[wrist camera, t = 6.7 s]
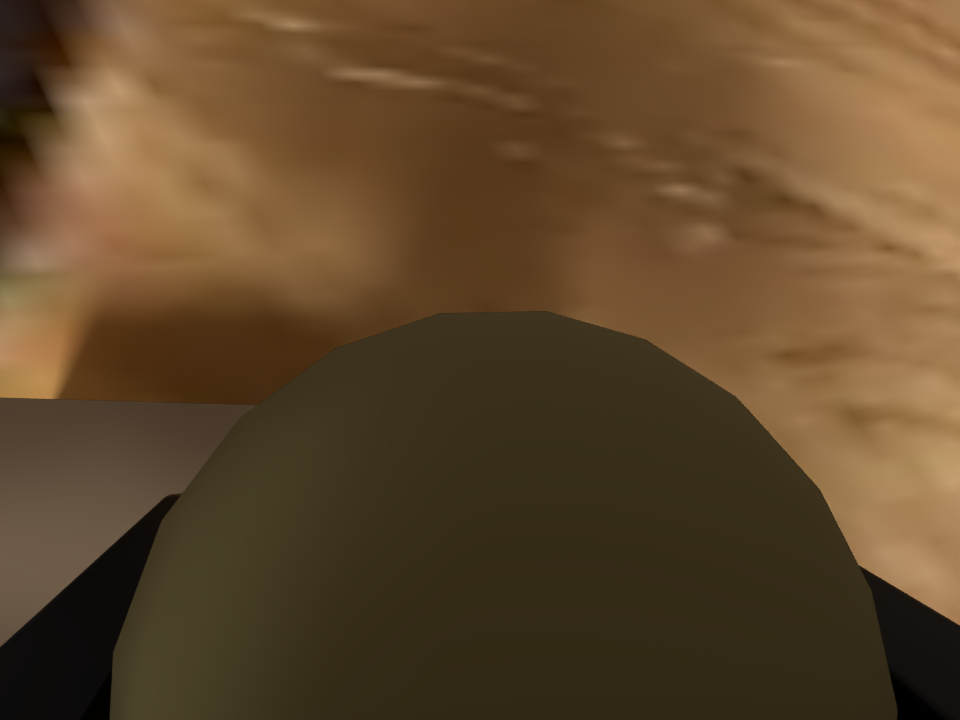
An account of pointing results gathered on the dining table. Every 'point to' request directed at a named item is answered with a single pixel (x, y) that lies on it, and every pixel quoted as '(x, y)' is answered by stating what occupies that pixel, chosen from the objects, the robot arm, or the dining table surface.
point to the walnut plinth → (87, 483)
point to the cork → (500, 547)
